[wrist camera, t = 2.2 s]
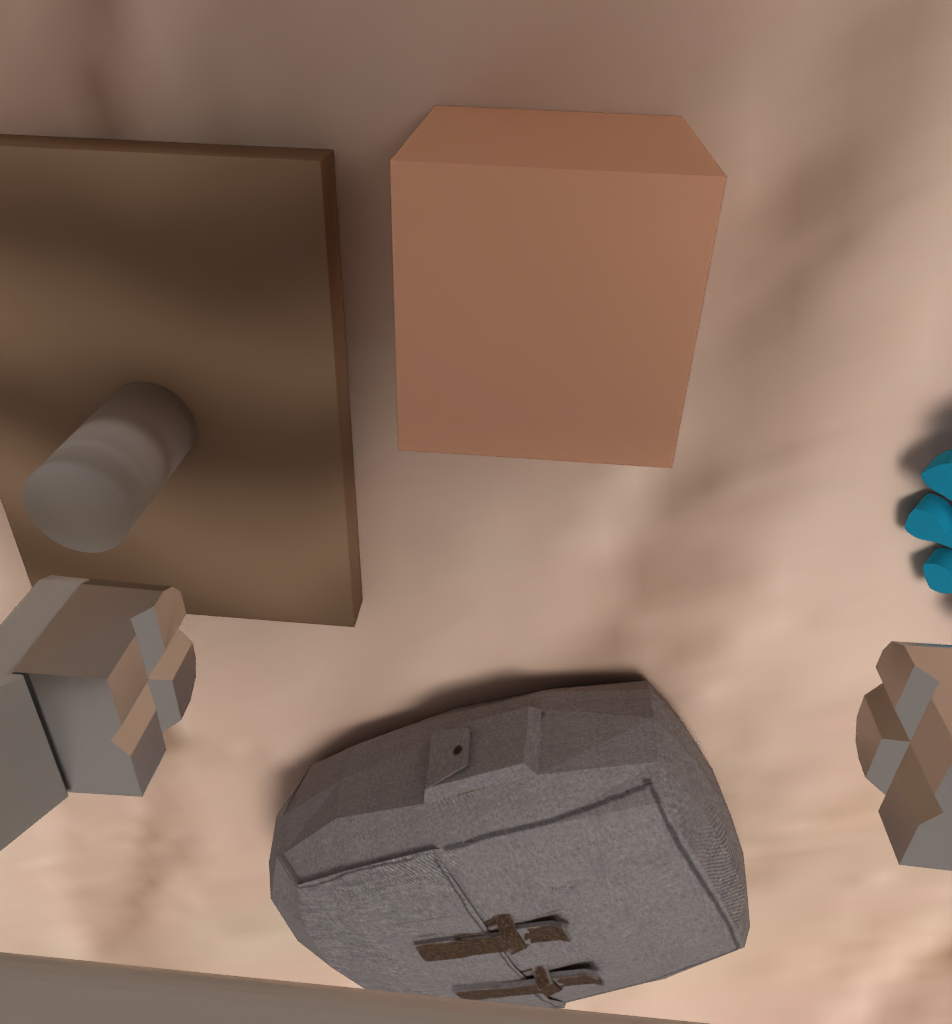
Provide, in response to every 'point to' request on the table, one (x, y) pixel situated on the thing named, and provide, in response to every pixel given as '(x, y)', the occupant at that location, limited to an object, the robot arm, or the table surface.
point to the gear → (936, 522)
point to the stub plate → (178, 373)
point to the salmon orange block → (549, 282)
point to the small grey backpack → (515, 851)
